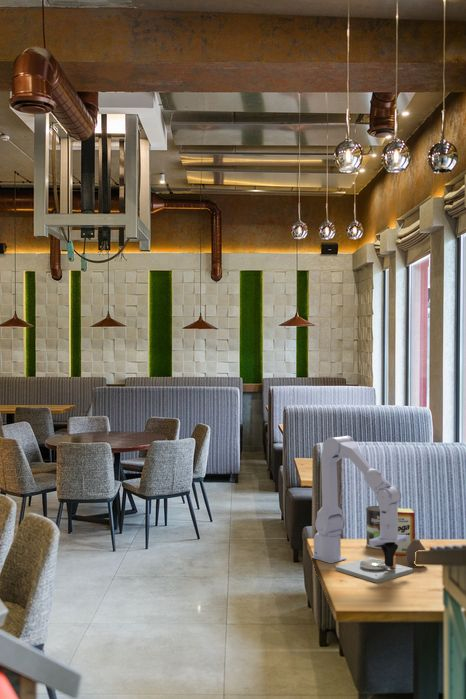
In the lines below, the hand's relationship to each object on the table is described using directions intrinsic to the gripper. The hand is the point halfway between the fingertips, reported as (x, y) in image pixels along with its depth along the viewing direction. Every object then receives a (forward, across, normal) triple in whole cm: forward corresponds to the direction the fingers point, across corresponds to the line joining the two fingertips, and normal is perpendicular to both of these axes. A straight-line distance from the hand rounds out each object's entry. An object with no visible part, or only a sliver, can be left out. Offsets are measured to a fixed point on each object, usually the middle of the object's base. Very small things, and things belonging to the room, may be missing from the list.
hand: (389, 565), depth 226 cm
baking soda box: (+3, +20, +18) cm, 28 cm away
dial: (+1, -1, +4) cm, 5 cm away
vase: (+3, +15, +4) cm, 16 cm away
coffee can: (+3, +21, +31) cm, 37 cm away
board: (+3, -2, +6) cm, 7 cm away
